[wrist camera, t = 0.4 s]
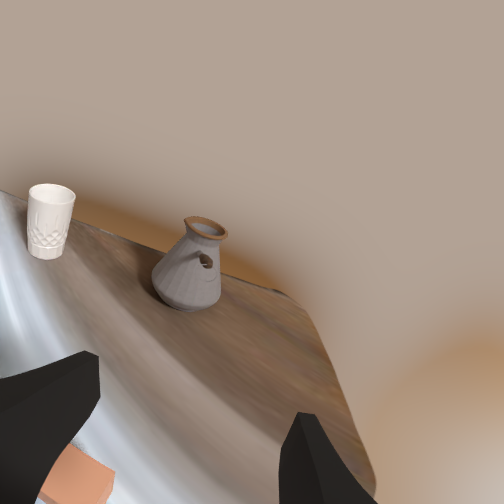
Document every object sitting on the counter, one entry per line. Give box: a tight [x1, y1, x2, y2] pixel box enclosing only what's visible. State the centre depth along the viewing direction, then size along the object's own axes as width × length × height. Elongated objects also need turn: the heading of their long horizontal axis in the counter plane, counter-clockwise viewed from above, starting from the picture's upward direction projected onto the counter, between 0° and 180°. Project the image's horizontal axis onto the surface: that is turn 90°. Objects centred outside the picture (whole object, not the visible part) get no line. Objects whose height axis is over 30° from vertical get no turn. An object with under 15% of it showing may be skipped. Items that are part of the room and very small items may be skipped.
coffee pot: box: [151, 216, 228, 312], centre depth 42 cm, size 21×12×15 cm, turn 6°
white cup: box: [27, 184, 75, 260], centre depth 41 cm, size 8×8×10 cm
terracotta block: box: [38, 443, 115, 504], centre depth 15 cm, size 5×5×6 cm
